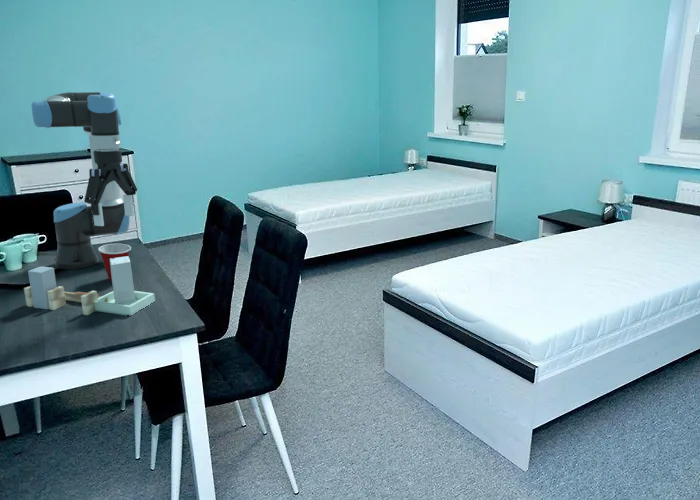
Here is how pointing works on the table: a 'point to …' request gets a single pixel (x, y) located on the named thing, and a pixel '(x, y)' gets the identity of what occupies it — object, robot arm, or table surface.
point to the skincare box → (122, 280)
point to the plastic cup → (113, 254)
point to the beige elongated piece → (67, 298)
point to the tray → (111, 307)
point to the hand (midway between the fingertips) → (115, 220)
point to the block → (41, 285)
